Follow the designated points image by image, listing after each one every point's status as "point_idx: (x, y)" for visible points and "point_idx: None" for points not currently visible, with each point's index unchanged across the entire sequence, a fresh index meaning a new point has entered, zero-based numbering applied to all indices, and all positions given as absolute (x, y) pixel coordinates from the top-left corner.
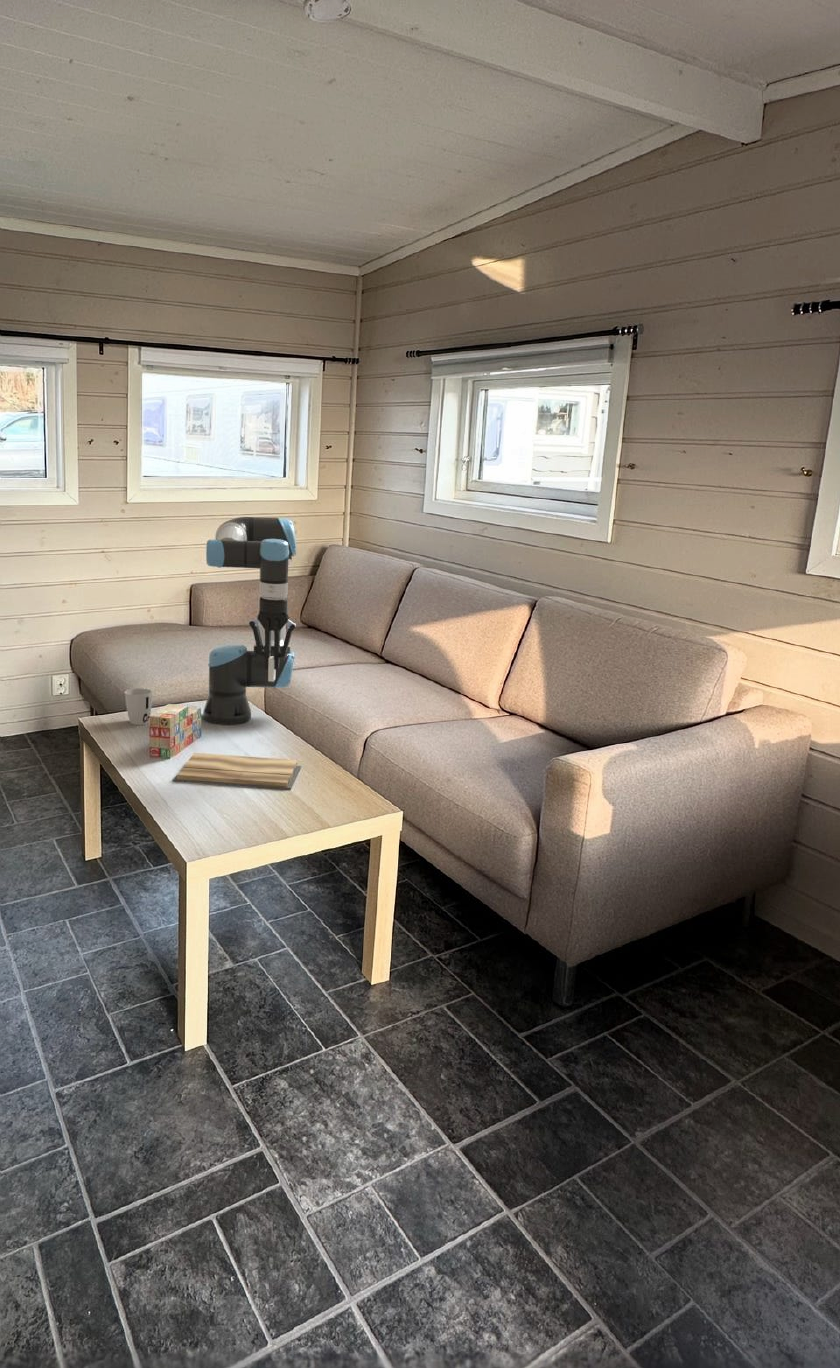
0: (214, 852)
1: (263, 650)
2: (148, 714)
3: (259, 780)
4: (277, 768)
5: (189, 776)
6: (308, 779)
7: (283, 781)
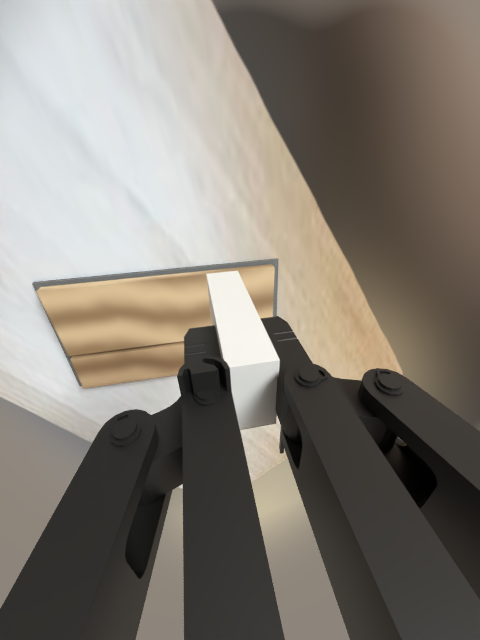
0: None
1: (158, 469)
2: None
3: None
4: None
5: (106, 384)
6: (296, 310)
7: None
